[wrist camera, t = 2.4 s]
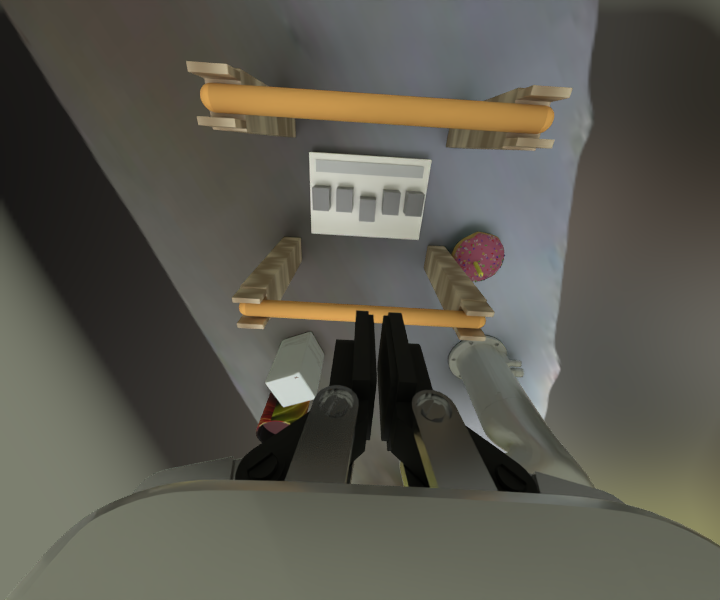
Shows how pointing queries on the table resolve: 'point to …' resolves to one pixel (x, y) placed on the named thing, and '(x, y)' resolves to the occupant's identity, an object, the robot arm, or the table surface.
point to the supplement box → (296, 370)
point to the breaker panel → (367, 195)
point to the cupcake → (479, 255)
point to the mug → (278, 417)
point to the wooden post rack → (439, 263)
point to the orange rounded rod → (376, 108)
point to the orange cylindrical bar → (349, 311)
